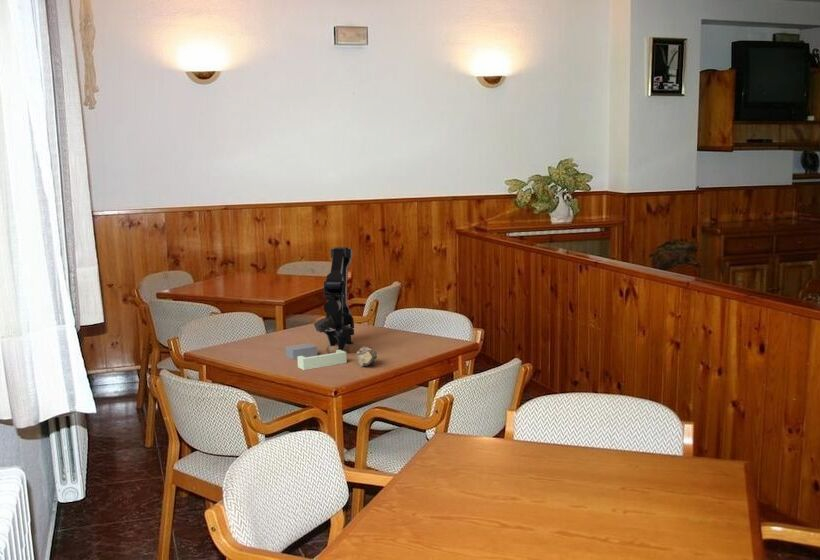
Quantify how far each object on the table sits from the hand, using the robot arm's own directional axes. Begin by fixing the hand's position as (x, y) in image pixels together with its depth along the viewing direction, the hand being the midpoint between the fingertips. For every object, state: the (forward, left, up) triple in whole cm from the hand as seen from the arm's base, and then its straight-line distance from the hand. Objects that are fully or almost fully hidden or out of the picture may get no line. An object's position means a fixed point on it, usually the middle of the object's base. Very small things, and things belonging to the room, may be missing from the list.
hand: (336, 350), depth 321 cm
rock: (0, +22, -1) cm, 22 cm away
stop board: (+13, +14, -1) cm, 19 cm away
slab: (+13, -4, -1) cm, 14 cm away
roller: (0, 0, -1) cm, 1 cm away
